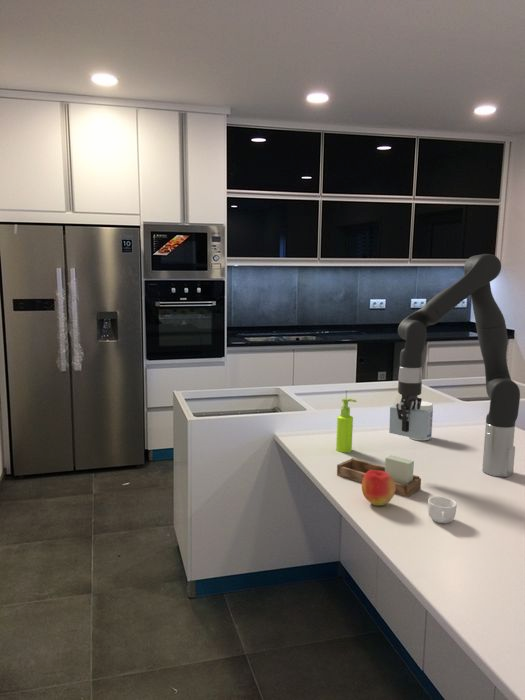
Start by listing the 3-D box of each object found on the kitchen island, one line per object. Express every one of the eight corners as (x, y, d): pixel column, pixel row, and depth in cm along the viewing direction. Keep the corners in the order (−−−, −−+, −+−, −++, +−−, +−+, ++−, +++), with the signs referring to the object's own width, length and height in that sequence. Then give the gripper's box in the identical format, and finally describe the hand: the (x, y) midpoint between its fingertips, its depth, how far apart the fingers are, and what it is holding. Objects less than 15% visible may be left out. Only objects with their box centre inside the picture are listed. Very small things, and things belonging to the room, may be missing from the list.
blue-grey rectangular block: (427, 437, 188) (428, 411, 187) (422, 439, 186) (423, 413, 184) (394, 430, 196) (395, 405, 195) (389, 432, 194) (390, 407, 192)
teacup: (426, 512, 163) (427, 494, 162) (454, 515, 162) (455, 497, 161) (427, 528, 154) (428, 509, 153) (457, 531, 152) (458, 512, 151)
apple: (370, 512, 163) (371, 478, 161) (356, 499, 172) (357, 467, 170) (400, 508, 165) (401, 476, 164) (384, 496, 175) (386, 464, 173)
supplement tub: (435, 441, 231) (437, 405, 228) (412, 441, 229) (414, 406, 227) (425, 434, 240) (427, 400, 238) (403, 434, 239) (405, 400, 237)
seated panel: (412, 488, 179) (413, 461, 178) (406, 491, 177) (408, 463, 175) (389, 481, 185) (391, 455, 183) (384, 484, 182) (385, 457, 181)
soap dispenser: (355, 452, 215) (357, 401, 212) (337, 452, 215) (338, 400, 212) (353, 447, 220) (355, 397, 217) (335, 447, 221) (337, 397, 218)
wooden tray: (420, 489, 180) (421, 477, 180) (407, 497, 174) (408, 484, 173) (350, 468, 197) (351, 457, 197) (336, 475, 191) (337, 463, 191)
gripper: (410, 384, 181) (408, 437, 183) (430, 378, 191) (428, 427, 194) (389, 381, 186) (387, 432, 188) (409, 375, 196) (408, 423, 198)
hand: (408, 429), depth 191 cm, fingers closed on blue-grey rectangular block, 3 cm apart
